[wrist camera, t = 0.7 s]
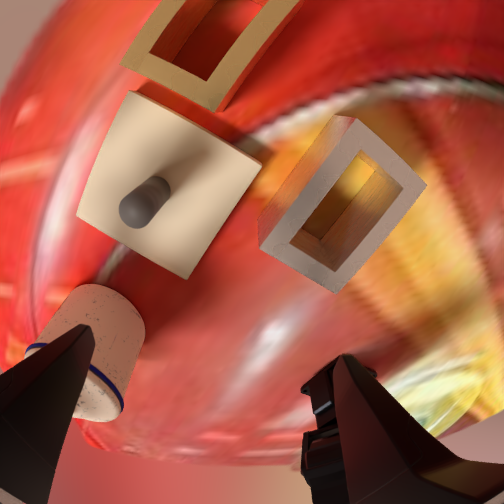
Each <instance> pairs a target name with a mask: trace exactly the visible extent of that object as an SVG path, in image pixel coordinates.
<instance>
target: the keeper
mask: <svg viewBox="0 0 504 504" xmlns="http://www.w3.org/2000/svg"><path fill="white" fill-rule="evenodd" d="M261 168H262V163H261V162H259V161H258V160H256V159H255V158H253V157H252V156H250V155H248V154H247V153H245V152H244V151H242V150H240V149H239V148H237V147H235V146H234V145H232V144H231V143H229V142H227V141H226V140H224V139H222V138H221V137H219V136H217V135H216V134H214V133H212V132H210V131H209V130H207V129H205V128H204V127H202V126H200V125H198V124H197V123H195V122H193V121H191V120H190V119H188V118H186V117H184V116H182V115H181V114H179V113H177V112H175V111H173V110H171V109H170V108H168V107H166V106H164V105H162V104H160V103H158V102H157V101H155V100H153V99H151V98H149V97H147V96H145V95H143V94H141V93H139V92H137V91H131V90H129V91H128V93H127V95H126V97H125V99H124V101H123V103H122V105H121V107H120V108H119V110H118V112H117V114H116V116H115V118H114V121H113V123H112V125H111V127H110V129H109V131H108V133H107V135H106V138H105V140H104V142H103V144H102V147H101V149H100V151H99V154H98V156H97V158H96V161H95V163H94V166H93V168H92V171H91V173H90V176H89V179H88V181H87V184H86V187H85V190H84V192H83V195H82V198H81V201H80V204H79V207H78V210H77V213H76V216H78V217H79V218H81V219H82V220H84V221H86V222H87V223H89V224H90V225H92V226H94V227H95V228H97V229H99V230H100V231H102V232H104V233H105V234H107V235H108V236H110V237H112V238H113V239H115V240H117V241H118V242H120V243H122V244H124V245H125V246H127V247H129V248H130V249H132V250H134V251H135V252H137V253H139V254H141V255H142V256H144V257H146V258H148V259H149V260H151V261H153V262H155V263H156V264H158V265H160V266H162V267H164V268H165V269H167V270H169V271H171V272H173V273H174V274H176V275H178V276H180V277H182V278H183V279H185V280H187V279H188V278H189V276H190V274H191V273H192V271H193V270H194V268H195V266H196V265H197V263H198V262H199V260H200V259H201V257H202V256H203V254H204V252H205V251H206V249H207V248H208V246H209V245H210V243H211V242H212V240H213V239H214V237H215V236H216V234H217V233H218V231H219V230H220V228H221V226H222V225H223V223H224V222H225V220H226V219H227V217H228V216H229V214H230V213H231V211H232V210H233V208H234V207H235V205H236V204H237V203H238V201H239V200H240V198H241V197H242V195H243V194H244V192H245V191H246V189H247V188H248V186H249V185H250V183H251V182H252V181H253V179H254V178H255V176H256V175H257V173H258V172H259V170H260V169H261Z"/></svg>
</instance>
